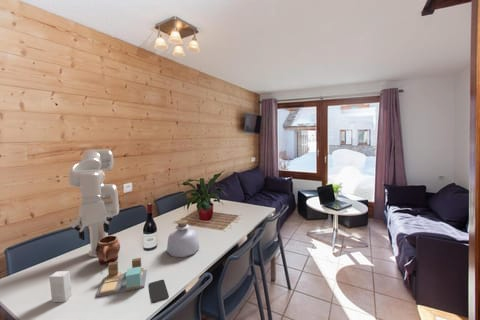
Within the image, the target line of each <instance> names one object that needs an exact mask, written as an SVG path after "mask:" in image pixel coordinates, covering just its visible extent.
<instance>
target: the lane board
mask: <svg viewBox="0 0 480 320" xmlns="http://www.w3.org/2000/svg"><path fill="white" fill-rule="evenodd" d="M147 271H148V270H147V269H144V270H143V276H142V282H141V287H138V288H133V289H128V290H127V289H126V273H127V271H126V272H124V273H121V274H120V277H119V280H118V281H116V282H111V283H105V284H104V282H105V279H106V277H107V275H106V276H104V277H103V280H102V282H101V284H100V286H99V289H98V291H97V293H96V297H103V296H107V295H108V296H109V295H113V294H119V293H123V292H124V293H125V292H129V291H134V290H138V289H144V288H145V286H146V279H147Z"/></svg>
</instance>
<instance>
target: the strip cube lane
mask: <svg viewBox="0 0 480 320" xmlns="http://www.w3.org/2000/svg"><path fill="white" fill-rule="evenodd" d="M136 267H141V274H142V276H143V270H145V269H144V267H143V268H142V258H141V257H136V258H132V260H131V268H136ZM141 282H142V279H141ZM138 287H141V285H140V286H135V287H130V288H126V289H127V290H128V289H133V288H138Z"/></svg>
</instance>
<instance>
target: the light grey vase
mask: <svg viewBox="0 0 480 320" xmlns="http://www.w3.org/2000/svg"><path fill="white" fill-rule="evenodd" d="M176 222H177V225H176V227H175V229H176V230H175V231H172V232H170V233H169V235H168V238H167V245H166V246H167V247H166V252H167V254H168V255H170V256H172V257H173V258H187V257H189V256H193V255H194V254H196V252H197V251H198V250H199V249H200V243H199V238H198V234H197V232H196V231H195V230H194V229H190V225H189V223H188V220H187V219H179V220H177V221H176Z"/></svg>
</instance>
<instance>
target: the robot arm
mask: <svg viewBox="0 0 480 320" xmlns="http://www.w3.org/2000/svg"><path fill="white" fill-rule="evenodd" d="M114 159H115V158H114V155H113V151H111V150H110V149H107V148H104V149H103V148H102V149H101V148H100V149H89V150H86V151H85V152H84V153H83V156H82V158H81V159H80V161H79V162H77V163H75V164H74V165H72V166H71V167H70V169H69V175H68V182H69V185H70V186H71V187H74V188H79V187H80V196H81V202H80V203H79V206H78V217H77V218H76V219H75V220H73V221H72V222H71V223H69V224H70V226H71V227H72V228H73V229H74V230H76V231H77V232H78V238H79V239H80V240H82V241H84V240H86V238H85V231H84V230H85V228H86V227H89V228H88V229H89V241H90V250H89V251H88V256H89V257H91V258H98V257H97V255H96V247H97V244H98V241H99V240H100V239H101V238H103V237H106V236H109V224H110V223H111V221H112V220H113V217H114V216H117V215H119V213H120V203H119V194H118V193H119V192H118V187H117V185H116V184H114V183H108V184H107V183H106V184H105V183H104V182H105V180H106V173H105V172H104V171H109V170H112V169H114V165H115V163H114V161H115V160H114ZM104 200H109V201H104ZM77 224H79V226H77Z"/></svg>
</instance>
